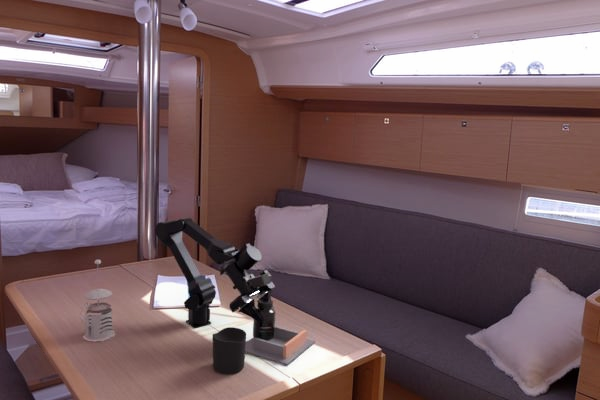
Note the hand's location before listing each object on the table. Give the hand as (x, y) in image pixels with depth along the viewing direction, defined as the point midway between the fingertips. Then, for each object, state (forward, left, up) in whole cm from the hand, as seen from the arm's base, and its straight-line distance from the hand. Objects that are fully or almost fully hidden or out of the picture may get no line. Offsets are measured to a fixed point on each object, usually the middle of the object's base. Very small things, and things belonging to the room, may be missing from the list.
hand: (268, 318), depth 151 cm
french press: (-41, +35, -9) cm, 55 cm away
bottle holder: (+1, -3, -8) cm, 9 cm away
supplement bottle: (-1, +1, -7) cm, 7 cm away
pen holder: (-18, -6, -9) cm, 21 cm away
